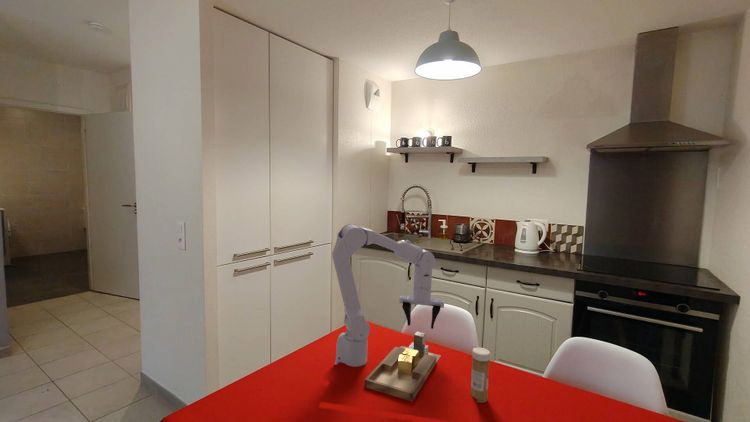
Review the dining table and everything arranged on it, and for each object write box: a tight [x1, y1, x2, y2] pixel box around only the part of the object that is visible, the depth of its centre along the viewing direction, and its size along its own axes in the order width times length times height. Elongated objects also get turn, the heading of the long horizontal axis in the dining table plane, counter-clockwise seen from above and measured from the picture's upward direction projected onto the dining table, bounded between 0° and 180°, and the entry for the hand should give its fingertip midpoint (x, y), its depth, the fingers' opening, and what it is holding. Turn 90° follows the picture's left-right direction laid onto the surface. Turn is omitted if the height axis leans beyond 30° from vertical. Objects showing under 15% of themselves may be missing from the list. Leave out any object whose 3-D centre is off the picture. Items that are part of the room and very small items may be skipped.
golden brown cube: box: [398, 354, 413, 375], centre depth 107 cm, size 4×4×4 cm
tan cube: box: [402, 348, 419, 369], centre depth 111 cm, size 4×4×4 cm
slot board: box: [364, 345, 442, 402], centre depth 108 cm, size 14×28×3 cm, turn 155°
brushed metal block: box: [407, 331, 429, 359], centre depth 118 cm, size 6×5×6 cm
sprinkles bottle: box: [470, 347, 491, 404], centre depth 96 cm, size 5×5×14 cm
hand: (420, 326), depth 118 cm, fingers open, 7 cm apart
